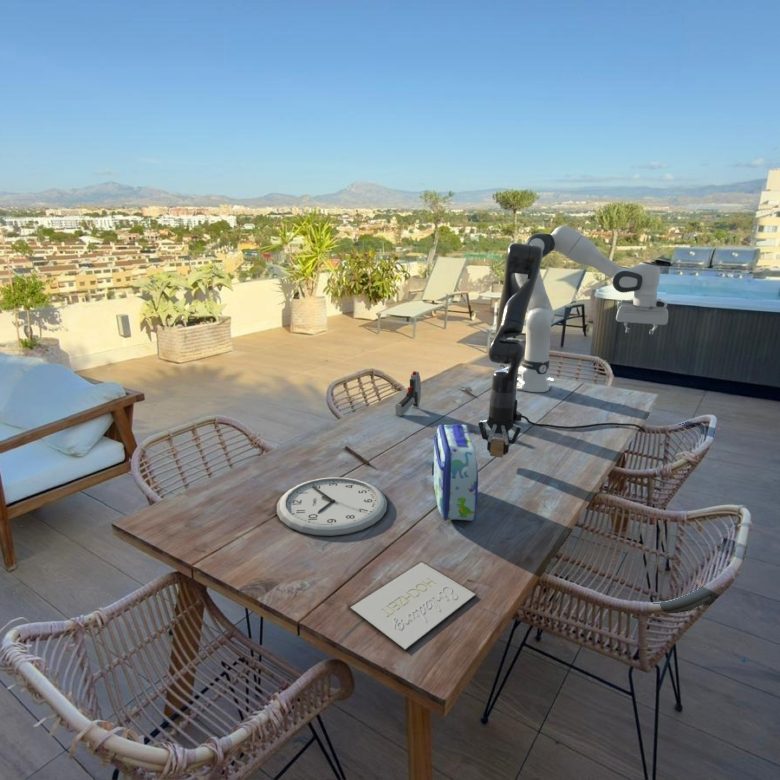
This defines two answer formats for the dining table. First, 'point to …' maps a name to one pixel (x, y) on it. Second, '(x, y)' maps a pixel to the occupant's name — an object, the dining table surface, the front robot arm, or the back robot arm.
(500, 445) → the block
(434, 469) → the lunch box
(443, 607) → the invitation card
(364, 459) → the dark brown stick
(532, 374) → the back robot arm
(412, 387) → the toy gun
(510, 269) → the front robot arm
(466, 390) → the fork
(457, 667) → the dining table surface
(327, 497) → the wall clock
